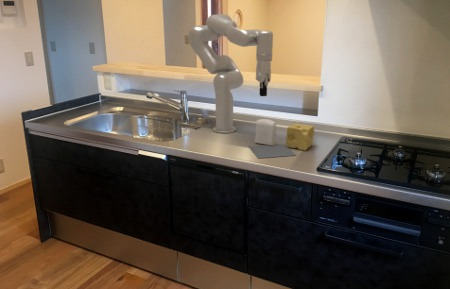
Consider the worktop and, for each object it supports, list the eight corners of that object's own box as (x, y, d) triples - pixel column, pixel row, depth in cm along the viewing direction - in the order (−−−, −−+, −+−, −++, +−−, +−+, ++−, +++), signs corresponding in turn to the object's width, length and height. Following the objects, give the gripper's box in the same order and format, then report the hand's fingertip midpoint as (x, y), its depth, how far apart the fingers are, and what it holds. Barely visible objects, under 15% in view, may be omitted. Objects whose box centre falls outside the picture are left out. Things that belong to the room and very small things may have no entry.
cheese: (305, 151, 189) (307, 130, 185) (284, 146, 194) (285, 126, 191) (313, 145, 197) (315, 125, 194) (292, 141, 202) (294, 122, 199)
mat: (249, 147, 195) (249, 146, 194) (284, 144, 198) (284, 143, 198) (258, 158, 180) (258, 158, 180) (296, 155, 183) (296, 155, 183)
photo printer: (276, 144, 198) (277, 119, 194) (272, 146, 194) (273, 121, 191) (258, 141, 203) (258, 117, 199) (254, 143, 200) (254, 119, 196)
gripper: (252, 56, 197) (251, 93, 203) (261, 59, 183) (260, 99, 189) (267, 55, 198) (265, 92, 204) (276, 59, 184) (275, 98, 190)
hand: (263, 95), depth 197 cm, fingers closed
